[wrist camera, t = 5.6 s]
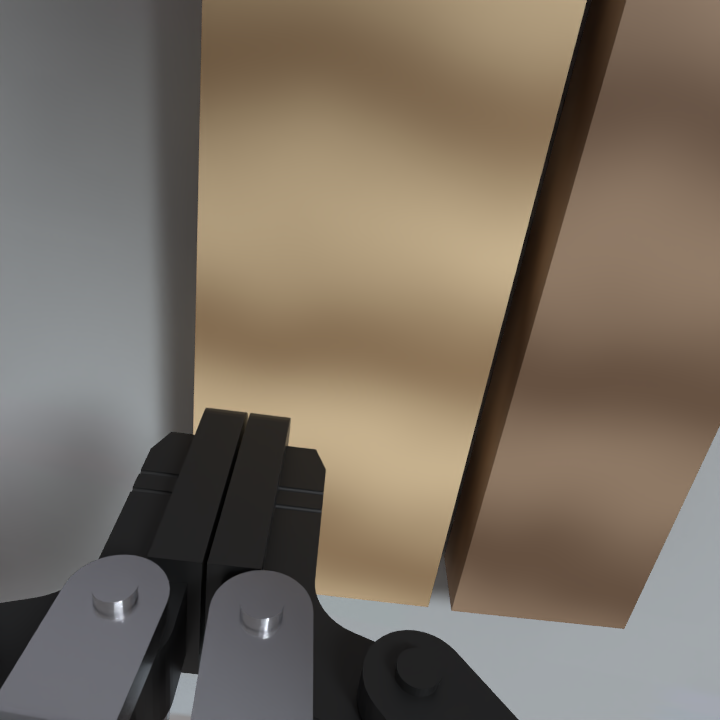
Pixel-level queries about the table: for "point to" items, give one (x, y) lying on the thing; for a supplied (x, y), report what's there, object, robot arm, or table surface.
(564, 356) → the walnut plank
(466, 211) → the oak plank
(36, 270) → the table surface
